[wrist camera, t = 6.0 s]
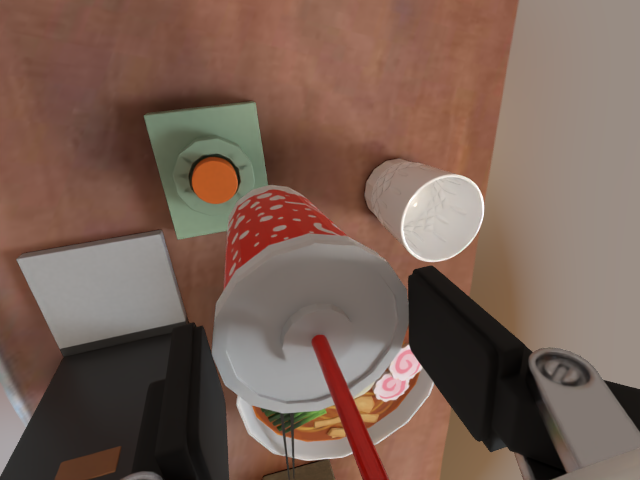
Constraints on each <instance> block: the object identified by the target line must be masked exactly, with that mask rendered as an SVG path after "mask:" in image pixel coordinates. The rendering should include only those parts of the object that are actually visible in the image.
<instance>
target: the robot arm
mask: <svg viewBox="0 0 640 480" xmlns="http://www.w3.org/2000/svg"><path fill="white" fill-rule="evenodd" d="M408 307H409V346H410V349H411V351H412V353H413V355H414V356H415V357H416V359H417V360H418V362H419V363H420V364H421V366H422V367H423V368H424V370H425V371H426V373H427V374H428V375H429V377H430V378H431V379H432V381H433V382H434V384H435V385H436V386H437V388H438V389H439V391H440V392H441V393H442V395H443V396H444V397H445V399H446V400H447V402H448V403H449V404H450V406H451V407H452V408H453V410H454V411H455V413H456V414H457V415H458V417H459V418H460V419H461V421H462V422H463V423H464V425H465V426H466V427H467V429H468V430H469V432H470V433H471V435H472V436H473V437H474V438H475V439H476V440H477V441H479V442H480V441H483V443H484V444H485V446H486V447H487V448H488V450H489V451H490V452H493V451H496V450H499V449H501V448H504V447H508V449H509V450H510V451H512V452H514V454H515V457H516V460H517V463H518V466H519V469H520V471H521V474H522V477H523V480H640V389H637V388H632V387H628V386H624V385H620V384H617V383H613V382H609V381H605V380H603V379H602V378H601V377H600V375H599V373H598V372H597V371H596V369H595V368H594V367H593V366H592V365H591V364H590V363H589V362H588V361H587V360H585V359H584V358H582V357H581V356H579V355H577V354H574V353H572V352H570V351H566V350H563V349H558V348H541V349H538V350H536V351H534V352H532V351H531V350H530V349H528V348H527V347H526V346H525V345H524V344H523V343H522V342H521V341H520V340H519V339H518V338H516V337H515V336H514V335H513V334H512V333H510V332H509V331H508V330H507V329H506V328H505V327H504V326H502V325H501V324H500V323H499V322H498V321H497V320H495V319H494V318H493V317H492V316H491V315H490V314H488V313H487V312H486V311H485V310H484V309H483V308H481V307H480V306H479V305H478V304H477V303H476V302H474V301H473V300H472V299H471V298H470V297H469V296H467V295H466V294H465V293H464V292H463V291H462V290H460V289H459V288H458V287H457V286H456V285H455V284H453V283H452V282H451V281H450V280H449V279H448V278H446V277H445V276H444V275H443V274H442V273H441V272H439V271H438V270H437V269H436V268H435V267H433V266H427V267H422V268H418V269H415V270H414V271H413V274H412V275H410V276H409V278H408ZM120 480H229V467H228V446H227V425H226V405H225V399H224V394H223V391H222V387H221V384H220V381H219V377H218V374H217V370H216V367H215V364H214V360H213V357H212V354H211V350H210V347H209V344H208V340H207V337H206V334H205V330H204V327H203V326H199V327H196V325H195V323H190V324H185V325H181V326H177V327H174V328H173V331H172V338H171V345H170V352H169V359H168V365H167V372H166V379H162V380H158V381H154V382H151V383H150V384H149V387H148V391H147V396H146V401H145V406H144V411H143V416H142V421H141V426H140V431H139V436H138V441H137V446H136V451H135V456H134V462H133V467H132V472H131V474H130V475H128V476H126V477H124V478H122V479H120Z"/></svg>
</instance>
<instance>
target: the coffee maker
mask: <svg viewBox="0 0 640 480" xmlns="http://www.w3.org/2000/svg"><path fill="white" fill-rule="evenodd" d="M16 260H17V262H18V264H19V266H20V268H21V270H22V272H23V274H24V276H25V279H26V281H27V283H28V285H29V287H30V289H31V291H32V293H33V295H34V297H35V299H36V301H37V303H38V305H39V307H40V310H41V312H42V314H43V316H44V318H45V320H46V322H47V324H48V326H49V328H50V330H51V332H52V334H53V336H54V338H55V340H56V343H57V345H58V347H59V349H60V351H61V353H62V355H63V359H62V361H61V363H60V365H59V367H58V369H57V371H56V373H55V374H54V376H53V378H52V380H51V382H50V384H49V386H48V388H47V389H46V391H45V393H44V395H43V397H42V399H41V401H40V403H39V405H38V406H37V408H36V410H35V412H34V414H33V416H32V418H31V420H30V422H29V423H28V425H27V427H26V429H25V431H24V433H23V435H22V437H21V438H20V441H19V442H18V444H17V446H16V448H15V450H14V452H13V454H12V455H11V457H10V459H9V461H8V463H7V465H6V467H5V469H4V471H3V472H2V474H1V476H0V480H120V479H122V478H124V477H126V476H128V475H130V474H131V472H132V467H133V462H134V456H135V451H136V446H137V441H138V436H139V431H140V426H141V421H142V416H143V411H144V406H145V401H146V396H147V391H148V387H149V384H150V383H151V382H154V381H158V380H162V379H166V372H167V365H168V359H169V352H170V345H171V338H172V331H173V328H174V327H177V326H181V325H185V324H189V322H188V319H187V316H186V312H185V308H184V305H183V301H182V298H181V295H180V291H179V288H178V284H177V281H176V277H175V274H174V270H173V267H172V263H171V260H170V257H169V253H168V250H167V246H166V243H165V239H164V236H163V232H162V230H157V231H151V232H145V233H139V234H134V235H128V236H122V237H116V238H110V239H105V240H99V241H93V242H87V243H82V244H76V245H70V246H64V247H58V248H53V249H47V250H41V251H35V252H29V253H24V254H21V255H20V256H19V257H18V258H17V259H16Z"/></svg>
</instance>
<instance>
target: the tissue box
mask: <svg viewBox="0 0 640 480" xmlns="http://www.w3.org/2000/svg"><path fill="white" fill-rule="evenodd" d="M289 476H290V480H335V477H334V474H333V470H332V467H331V464H330V461H329V460H328V459H326V460H322V461H319V462H315V463H311V464H308V465H304V466H300V467H297V468H294V476H295V479H293V469H289ZM263 480H289V478H288V471H287V470H286V471H282V472H278V473H275V474H271V475H267V476H264V477H263Z"/></svg>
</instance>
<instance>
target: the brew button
mask: <svg viewBox="0 0 640 480" xmlns="http://www.w3.org/2000/svg"><path fill="white" fill-rule="evenodd" d="M237 186H238V180H237V176H236V172H235V170H234V168H233V166H232V165H231V164H230V163H229V162H228V161H226V160H225V159H222V158H219V157H208V158H205V159H203V160H201V161H200V162H199V163H198V164H197V165H196V167H195V168H194V171H193V175H192V187H193V190H194V192H195V194H196V195H197V196H198V197H199V198H200V199H201V200H203V201H205V202H207V203H211V204H221V203H224V202H226V201H228V200H229V199H231V198H232V197H233V196H234V194H235V192H236V190H237Z"/></svg>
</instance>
